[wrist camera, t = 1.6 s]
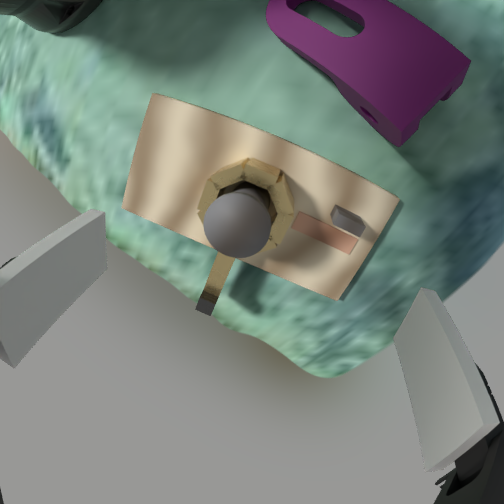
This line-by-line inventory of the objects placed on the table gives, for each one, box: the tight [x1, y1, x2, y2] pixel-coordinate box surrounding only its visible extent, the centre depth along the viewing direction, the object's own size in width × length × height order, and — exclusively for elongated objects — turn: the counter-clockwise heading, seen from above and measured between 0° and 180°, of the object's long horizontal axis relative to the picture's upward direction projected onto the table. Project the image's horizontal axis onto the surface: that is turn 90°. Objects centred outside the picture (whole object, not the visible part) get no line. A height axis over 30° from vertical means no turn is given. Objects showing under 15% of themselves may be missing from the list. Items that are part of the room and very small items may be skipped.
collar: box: [196, 157, 294, 316], centre depth 30 cm, size 16×8×5 cm, turn 158°
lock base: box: [122, 93, 400, 301], centre depth 28 cm, size 28×14×9 cm, turn 68°
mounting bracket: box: [266, 0, 471, 147], centre depth 22 cm, size 10×8×18 cm
